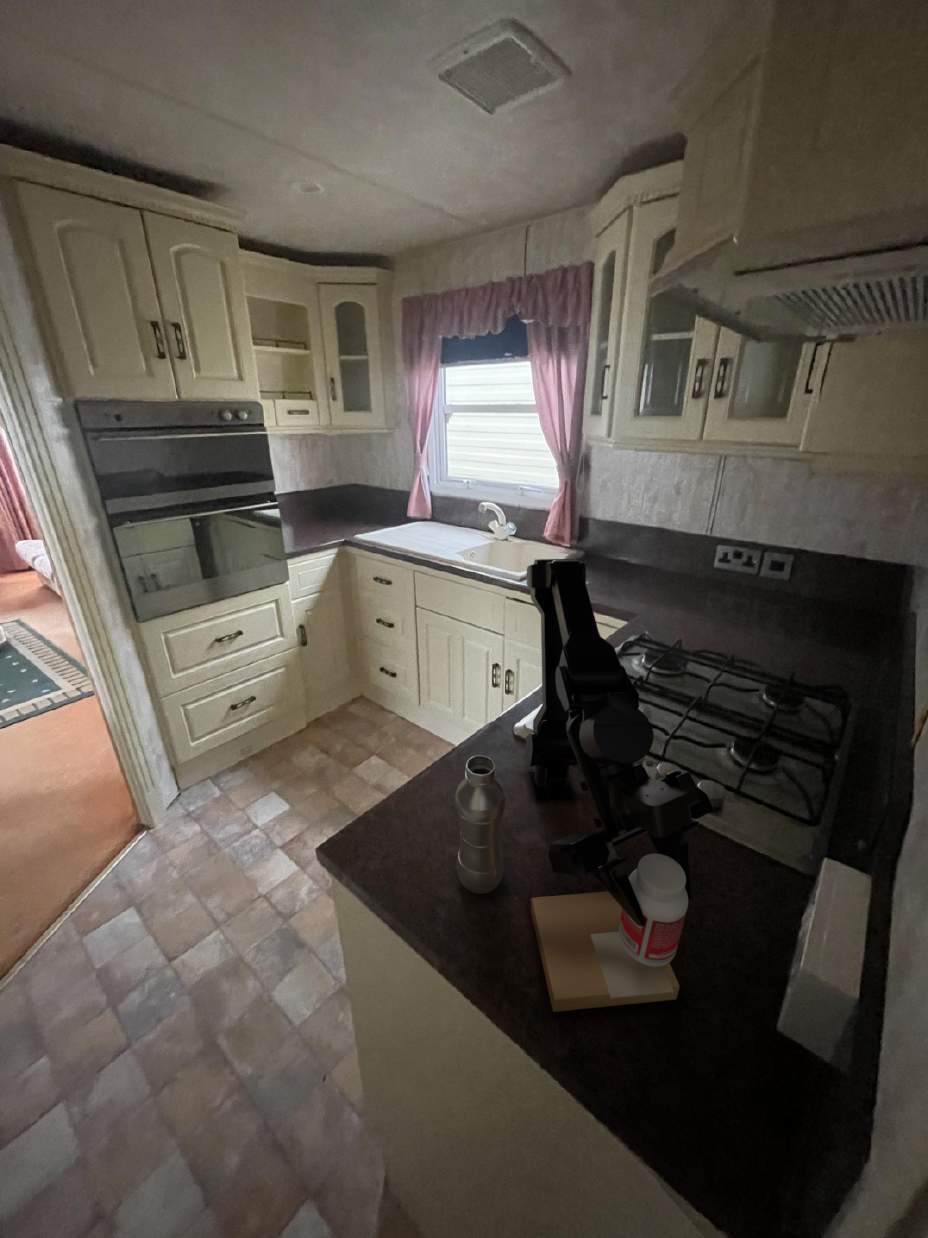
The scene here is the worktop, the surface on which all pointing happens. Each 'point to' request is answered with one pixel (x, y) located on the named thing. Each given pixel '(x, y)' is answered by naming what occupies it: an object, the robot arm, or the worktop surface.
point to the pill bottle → (656, 911)
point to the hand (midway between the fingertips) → (664, 912)
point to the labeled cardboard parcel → (593, 955)
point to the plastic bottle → (480, 826)
